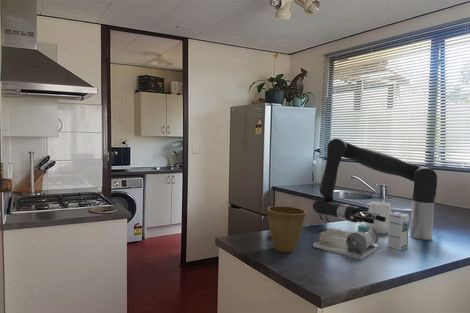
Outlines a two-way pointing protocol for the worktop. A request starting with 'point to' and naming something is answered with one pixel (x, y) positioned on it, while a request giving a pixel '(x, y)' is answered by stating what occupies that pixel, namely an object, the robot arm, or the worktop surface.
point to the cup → (384, 211)
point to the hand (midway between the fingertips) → (379, 220)
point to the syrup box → (398, 230)
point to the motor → (349, 241)
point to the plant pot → (285, 226)
